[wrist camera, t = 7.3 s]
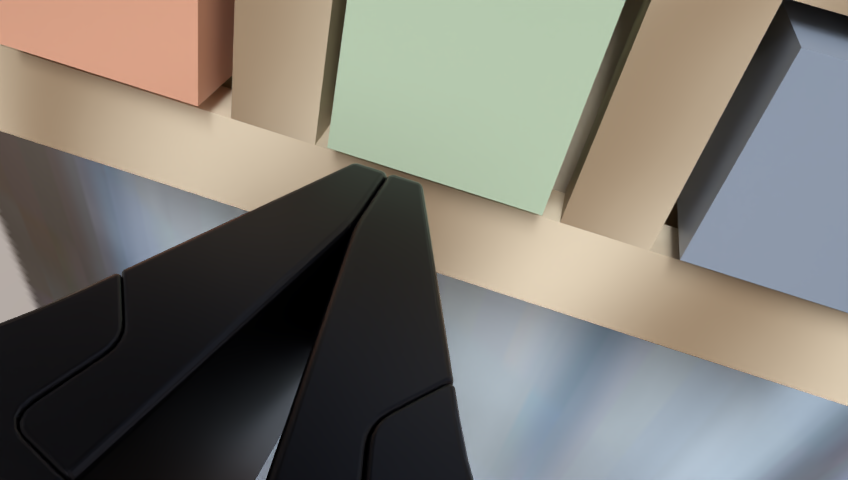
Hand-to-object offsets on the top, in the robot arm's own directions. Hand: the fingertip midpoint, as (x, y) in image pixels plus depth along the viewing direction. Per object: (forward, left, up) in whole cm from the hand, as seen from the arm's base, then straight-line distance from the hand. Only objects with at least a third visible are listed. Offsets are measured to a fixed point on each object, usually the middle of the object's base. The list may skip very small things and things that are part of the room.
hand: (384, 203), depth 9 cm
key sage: (0, 0, -6) cm, 6 cm away
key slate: (-6, -2, -6) cm, 9 cm away
